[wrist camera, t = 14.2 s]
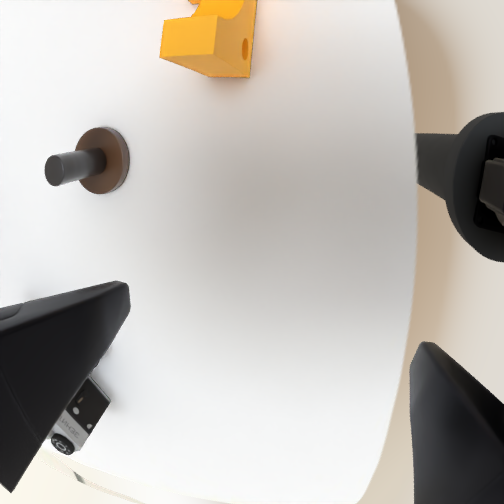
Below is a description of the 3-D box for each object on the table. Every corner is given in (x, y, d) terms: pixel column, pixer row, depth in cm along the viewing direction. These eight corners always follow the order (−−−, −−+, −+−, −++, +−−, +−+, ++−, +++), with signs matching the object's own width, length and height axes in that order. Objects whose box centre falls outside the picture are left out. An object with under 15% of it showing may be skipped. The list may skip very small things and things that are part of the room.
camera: (149, 387, 31) (115, 453, 21) (92, 409, 33) (57, 462, 23) (65, 275, 28) (1, 315, 19) (19, 316, 30) (-33, 354, 21)
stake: (130, 126, 20) (80, 129, 15) (129, 194, 22) (82, 213, 17) (80, 128, 21) (30, 134, 16) (80, 190, 23) (33, 206, 18)
